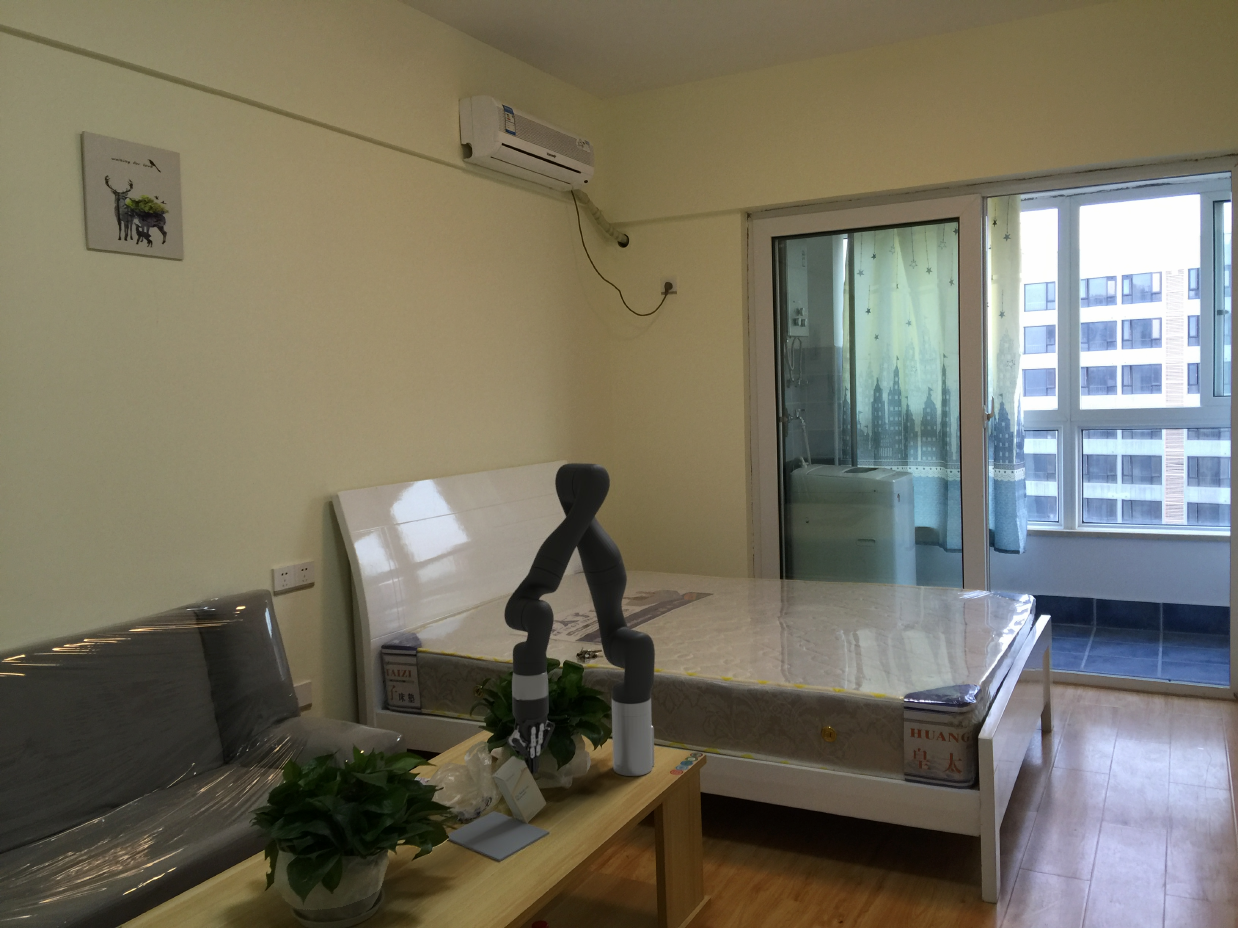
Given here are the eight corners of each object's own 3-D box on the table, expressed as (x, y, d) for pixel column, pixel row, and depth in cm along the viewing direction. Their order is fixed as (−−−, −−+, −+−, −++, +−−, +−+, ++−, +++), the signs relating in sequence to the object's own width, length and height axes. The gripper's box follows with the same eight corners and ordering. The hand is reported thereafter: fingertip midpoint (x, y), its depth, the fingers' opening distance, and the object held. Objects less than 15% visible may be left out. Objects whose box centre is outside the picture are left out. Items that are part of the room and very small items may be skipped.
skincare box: (527, 824, 199) (503, 782, 194) (514, 817, 202) (490, 775, 198) (547, 802, 203) (525, 760, 198) (534, 796, 206) (512, 754, 201)
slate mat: (494, 812, 205) (494, 810, 205) (549, 833, 195) (549, 831, 195) (444, 837, 194) (443, 835, 194) (499, 861, 184) (499, 859, 184)
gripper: (539, 681, 208) (540, 758, 210) (494, 696, 198) (496, 778, 199) (564, 687, 204) (566, 767, 205) (520, 704, 193) (522, 787, 195)
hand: (531, 772), depth 202 cm, fingers closed
